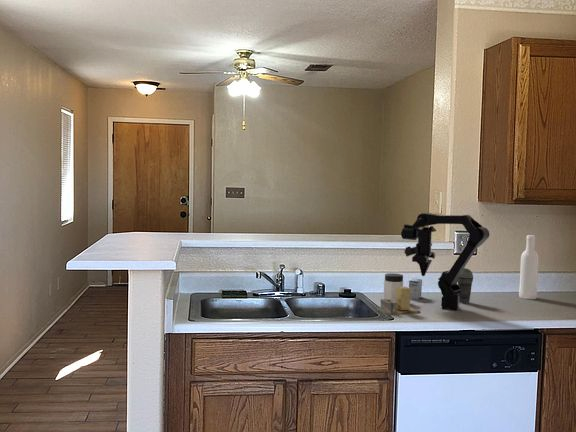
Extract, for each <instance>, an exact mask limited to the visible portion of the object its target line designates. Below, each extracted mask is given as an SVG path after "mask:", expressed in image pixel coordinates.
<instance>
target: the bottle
mask: <svg viewBox="0 0 576 432" xmlns="http://www.w3.org/2000/svg"><path fill="white" fill-rule="evenodd" d="M525 240H526V244H525V245H526V246H525V250H524V251H523V252H522V254H521V255H520V272H519V291H518V297H519V299H525V300H536V299H537V295H538V278H539V276H538V275H539V262H540V261H539V257H540V256H539V255H538V253H537V251H536V250H535V246H536V245H535V243H536V235H533V234H528V235H526V237H525Z"/></svg>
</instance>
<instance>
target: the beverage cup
mask: <svg viewBox="0 0 576 432" xmlns="http://www.w3.org/2000/svg"><path fill="white" fill-rule="evenodd" d="M465 267H466V266H465ZM465 267H464V269H463V270H462V272H461V273H460V275H459V280H458V282H457V284H458V286H459V287H460V288H461V289H462V290H461V292H460V294H459V303H460V304H470V299H471V292H472V286H473V281H474V275H473V272H472V270H470V269H469V268H465Z"/></svg>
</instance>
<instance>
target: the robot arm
mask: <svg viewBox="0 0 576 432" xmlns="http://www.w3.org/2000/svg"><path fill="white" fill-rule="evenodd" d="M434 225H462V226H463V227H464V229H465V230H466V233H468V234H469V235H468V238H467V242H466V245H465V246H464V248H463V250H462V252H461V253H460V254H459V256H458V257H457V258H456V260H455V261H454V263H453V264H452V266H451V268H450V269H449V270H446V271H442V273H441V274H440V276H439V277H438V278H437V279H438V282H437V286H438V288H439V289H440V292H441V295H442V297H441V302H440V303H441V305H440V306H441V309H442V310H449V311H458V310H459V309H460V305H459V294H460V292H461V290H462V289H461V288H460V287H459V286H458V280H459V275H460V273H461V272H462V270H463V269H464V267H466V266H467V264H468V263H469V262H470V260H471V258H472V256H473V254H475V252H476V251H477V250H478V248H480V247H481V246H482V245H483V244H484V243H485V242H486V241H487V240H488V239H489V237H490V235H491V234H490V231H489V229H488V228H486V227H485V226H483V225H482V224H481V223H479V222H478V221H477V220H475V219H474V218H473V217H472V216H471V215H470V214H463V215H458V214H457V215H455V214H454V215H452V214H451V215H450V214H449V215H448V214H447V215H444V214H437V213H432V212H421V213H419V214H418V215H417V217H416V220H415V221H414V223H413V224H408V223H406V224H403V227H402V229H401V232H400V235H401V239H402V240H409V241H416V240H417V243H416V244H415V246H413V247H411V246H407V247H405V249H404V254H405V256H406V258H407V257H409V256H412V255H413V256H412V257H411V258H412V259H411V262H412V263H417V264H418V265H419V270H420V273H421V277H425V276H426V274H427V273H428V270H429V267H430V266H431V264H432V261H433V260H432V259H435V258H436V253H435V252H434V251H432V246H433V243H432V233H434V232H437V229H436V228H435V227H434ZM427 226H428V227H427ZM431 258H432V259H431Z"/></svg>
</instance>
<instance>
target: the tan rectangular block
mask: <svg viewBox="0 0 576 432" xmlns="http://www.w3.org/2000/svg"><path fill="white" fill-rule="evenodd" d="M410 291H411V288H409V286H404V285H403V287H396V300H395V302H397V303H398V304H397V310H398V309H399V310H410V307H411V299H410Z"/></svg>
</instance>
